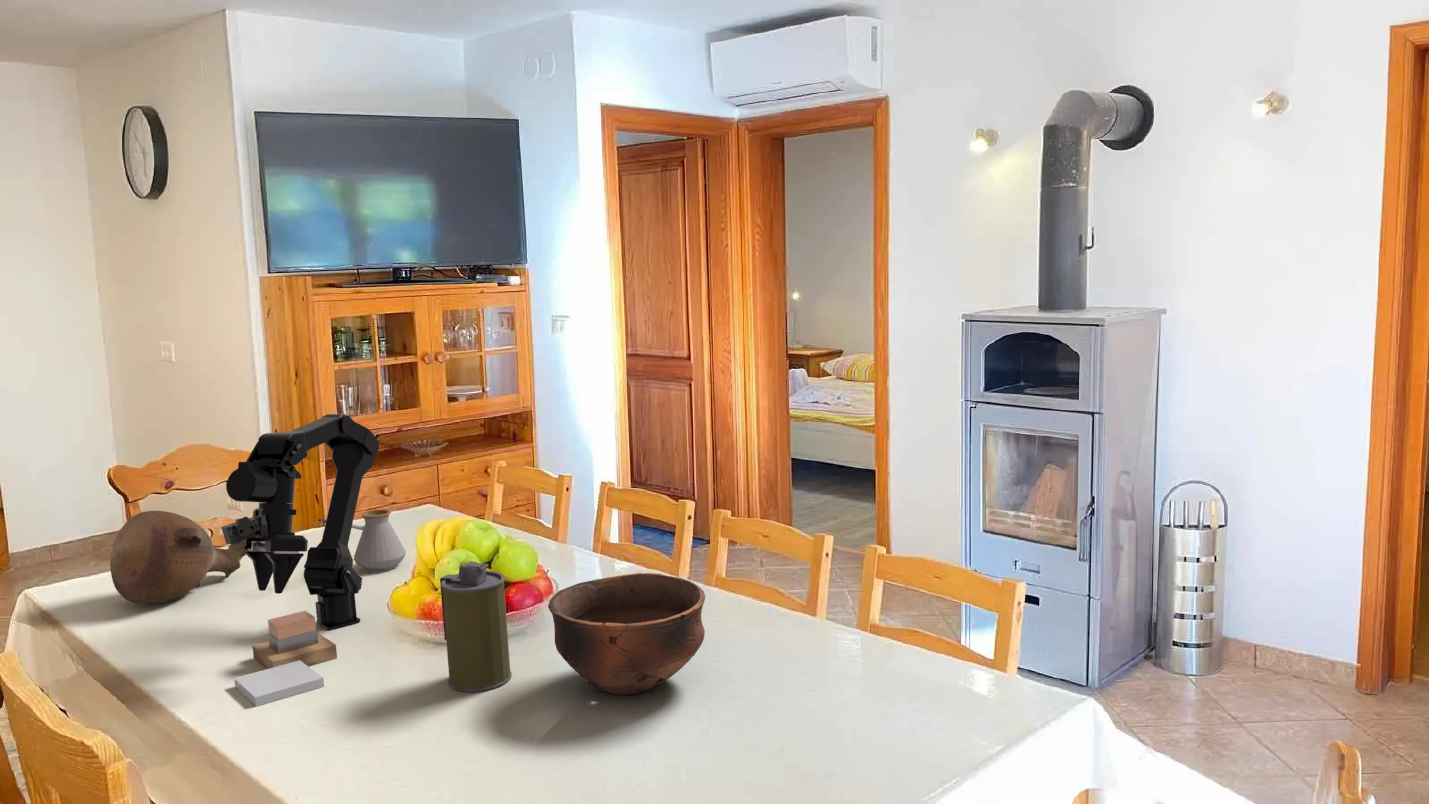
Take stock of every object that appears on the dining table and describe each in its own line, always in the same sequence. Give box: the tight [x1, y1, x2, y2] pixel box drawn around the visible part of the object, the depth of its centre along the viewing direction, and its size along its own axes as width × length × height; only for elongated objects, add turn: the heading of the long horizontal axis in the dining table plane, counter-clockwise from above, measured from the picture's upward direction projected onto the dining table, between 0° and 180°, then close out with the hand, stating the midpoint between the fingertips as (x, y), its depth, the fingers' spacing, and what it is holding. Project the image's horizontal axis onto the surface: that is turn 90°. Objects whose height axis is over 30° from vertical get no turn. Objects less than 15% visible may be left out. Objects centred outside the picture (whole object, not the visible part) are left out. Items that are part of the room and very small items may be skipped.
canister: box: [439, 560, 513, 693], centre depth 179 cm, size 11×10×20 cm
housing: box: [267, 610, 319, 654], centre depth 192 cm, size 7×5×5 cm
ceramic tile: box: [233, 660, 325, 707], centre depth 180 cm, size 11×11×2 cm
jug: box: [109, 510, 248, 604], centre depth 232 cm, size 20×20×30 cm
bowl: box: [547, 572, 707, 696], centre depth 175 cm, size 25×25×15 cm
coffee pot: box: [314, 509, 407, 573], centre depth 243 cm, size 21×12×15 cm, turn 146°
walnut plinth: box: [251, 632, 338, 670], centre depth 193 cm, size 11×11×2 cm
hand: (270, 591), depth 190 cm, fingers open, 9 cm apart
